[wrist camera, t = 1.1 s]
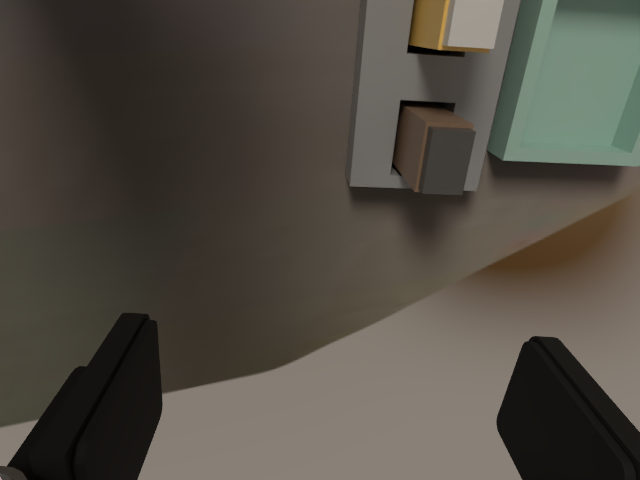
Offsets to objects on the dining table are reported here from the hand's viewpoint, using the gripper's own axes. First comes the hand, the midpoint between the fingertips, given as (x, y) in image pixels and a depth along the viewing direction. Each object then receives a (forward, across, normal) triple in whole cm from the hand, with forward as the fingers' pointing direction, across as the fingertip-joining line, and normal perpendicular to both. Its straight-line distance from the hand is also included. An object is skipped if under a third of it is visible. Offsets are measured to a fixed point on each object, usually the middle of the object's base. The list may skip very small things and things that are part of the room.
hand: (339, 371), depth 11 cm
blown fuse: (+26, -8, -2) cm, 27 cm away
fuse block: (+26, -8, -6) cm, 28 cm away
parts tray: (+26, -20, -8) cm, 34 cm away
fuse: (+26, -7, -10) cm, 29 cm away
